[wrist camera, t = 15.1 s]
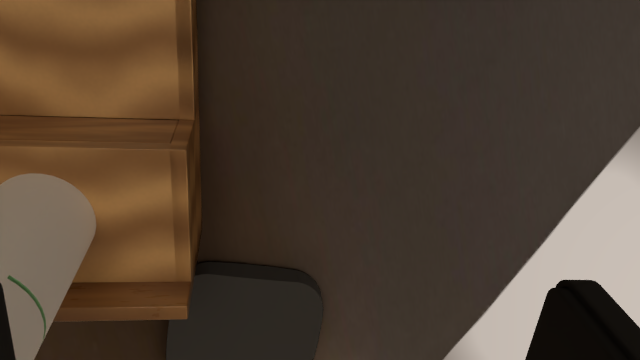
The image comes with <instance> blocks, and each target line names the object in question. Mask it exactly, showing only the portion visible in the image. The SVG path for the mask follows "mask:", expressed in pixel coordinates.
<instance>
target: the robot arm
mask: <svg viewBox="0 0 640 360" xmlns="http://www.w3.org/2000/svg"><path fill="white" fill-rule="evenodd" d="M0 360H16V358H15V353H14V347H13V341H12V336H11V330H10V325H9V319H8V314H7V308H6V303H5V297H4V292H3V287H2V285H1V283H0ZM525 360H640V328H639V327H638V326H637V325H636V323H635V322H634V321H633V320H632V319H631V318H630V317H629V316H628V315H627V314H626V313H625V311H624V310H623V309H622V308H621V307H620V306H619V305H618V304H617V303H616V302H615V301H614V300H613V298H612V297H611V296H610V295H609V294H608V293H607V292H606V291H605V290H604V289H603V288H602V287H601V285H599V284H598V283H597V282H595V281H592V280H562V281H560V282H559V283H558V284H557V285H556V288H552V289H550V290H549V291H548V293H547V296H546V299H545V302H544V305H543V308H542V311H541V314H540V317H539V320H538V323H537V326H536V329H535V332H534V335H533V338H532V341H531V344H530V347H529V350H528V353H527V356H526V359H525Z"/></svg>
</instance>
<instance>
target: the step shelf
mask: <svg viewBox="0 0 640 360" xmlns="http://www.w3.org/2000/svg"><path fill="white" fill-rule="evenodd" d="M1 115H22V116H1ZM39 116H59V117H39ZM76 117H96V118H76ZM113 118H133V119H113ZM150 119H170V120H150ZM178 120H179V121H178ZM30 173H35V174H46V175H51V176H55V177H57V178H60V179H63V180H65V181H66V182H68V183H70V184H72V185H73V186H74V187H76V188H77V189H78V190H79V191H81V192H82V194H83V195H84V196H85V197H86V198H87V199H88V201H89V203H90V204H91V206H92V208H93V211H94V214H95V217H96V231H95V235H94V238H93V240H92V242H91V244H90V246H89V248H88V250H87V252H86V254H85V257H84V259H83V261H82V263H81V265H80V267H79V269H78V271H77V273H76V275H75V277H74V279H73V281H72V283H71V285H70V287H69V289H68V291H67V293H66V295H65V297H64V299H63V301H62V303H61V305H60V307H59V310H58V312H57V314H56V316H55V318H54V320H53V322H57V321H114V320H171V319H188V314H189V307H190V301H191V295H192V289H193V282H194V276H195V270H196V263H197V257H198V251H199V244H200V238H201V232H202V208H201V168H200V129H199V90H198V50H197V11H196V0H0V184H2V183H3V182H5V181H6V180H8V179H10V178H12V177H15V176H18V175H23V174H30Z"/></svg>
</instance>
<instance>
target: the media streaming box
mask: <svg viewBox="0 0 640 360" xmlns="http://www.w3.org/2000/svg"><path fill="white" fill-rule="evenodd" d="M322 316H323V303H322V298H321V292H320V289H319V287H318V285H317V283H316V282H315V281H314V280H313V279H312V278H311V277H310V276H309V275H307V274H305V273H303V272H301V271H298V270H292V269H285V268H277V267H269V266H260V265H250V264H238V263H222V262H205V263H200V264H197V265H196V270H195V276H194V282H193V289H192V295H191V301H190V307H189V314H188V319H171V320H169V326H168V335H167V347H166V360H313V359H314V355H315V352H316V348H317V344H318V339H319V334H320V329H321V323H322Z"/></svg>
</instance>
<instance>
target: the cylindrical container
mask: <svg viewBox="0 0 640 360" xmlns="http://www.w3.org/2000/svg"><path fill="white" fill-rule="evenodd" d="M95 231H96V217H95V214H94V211H93V208H92V206H91V204H90V203H89V201H88V199H87V198H86V197H85V196H84V195H83V194H82V192H81V191H79V190H78V189H77V188H76V187H74V186H73V185H72V184H70V183H68V182H66V181H65V180H63V179H60V178H57V177H55V176H51V175H46V174H35V173H30V174H23V175H18V176H15V177H12V178H10V179H8V180H6V181H5V182H3V183H2V184H0V283H1V285H2V287H3V292H4V297H5V303H6V308H7V314H8V319H9V325H10V330H11V336H12V341H13V347H14V353H15V358H16V360H34V358H35V356H36V354H37V352H38V350H39V348H40V346H41V344H42V342H43V340H44V338H45V336H46V334H47V332H48V330H49V328H50V326H51V324H52V322H53V320H54V318H55V316H56V314H57V312H58V310H59V307H60V305H61V303H62V301H63V299H64V297H65V295H66V293H67V291H68V289H69V287H70V285H71V283H72V281H73V279H74V277H75V275H76V273H77V271H78V269H79V267H80V265H81V263H82V261H83V259H84V257H85V254H86V252H87V250H88V248H89V246H90V244H91V242H92V240H93V238H94V235H95Z"/></svg>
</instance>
